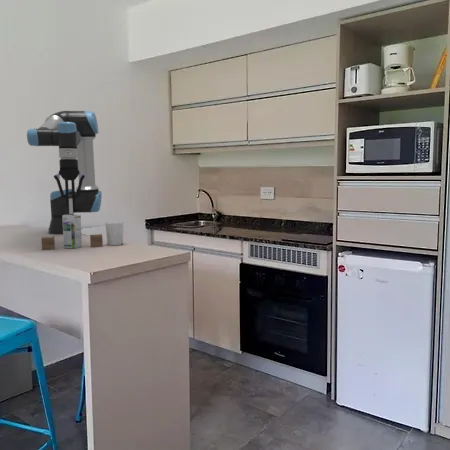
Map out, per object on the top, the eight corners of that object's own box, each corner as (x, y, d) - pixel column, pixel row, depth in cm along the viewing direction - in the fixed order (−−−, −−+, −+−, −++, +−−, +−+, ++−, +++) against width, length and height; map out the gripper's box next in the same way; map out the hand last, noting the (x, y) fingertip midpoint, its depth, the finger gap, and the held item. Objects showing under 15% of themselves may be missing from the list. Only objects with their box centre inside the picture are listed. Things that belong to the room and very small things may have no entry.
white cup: (111, 246, 201) (110, 224, 199) (103, 244, 206) (102, 222, 205) (127, 244, 206) (126, 222, 205) (118, 242, 212) (118, 221, 210)
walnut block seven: (42, 248, 197) (42, 236, 197) (54, 247, 199) (54, 236, 198) (42, 250, 192) (41, 238, 192) (54, 249, 194) (53, 237, 193)
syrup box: (63, 248, 197) (61, 215, 195) (72, 246, 202) (70, 213, 201) (73, 248, 195) (72, 215, 193) (82, 246, 201) (81, 214, 199)
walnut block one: (90, 245, 203) (90, 234, 203) (102, 245, 205) (101, 233, 204) (91, 247, 199) (90, 236, 198) (102, 246, 200) (102, 235, 200)
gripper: (52, 158, 188) (55, 214, 191) (84, 158, 193) (87, 213, 195) (52, 159, 195) (55, 213, 198) (84, 159, 200) (86, 212, 203)
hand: (71, 213), depth 197 cm, fingers closed
